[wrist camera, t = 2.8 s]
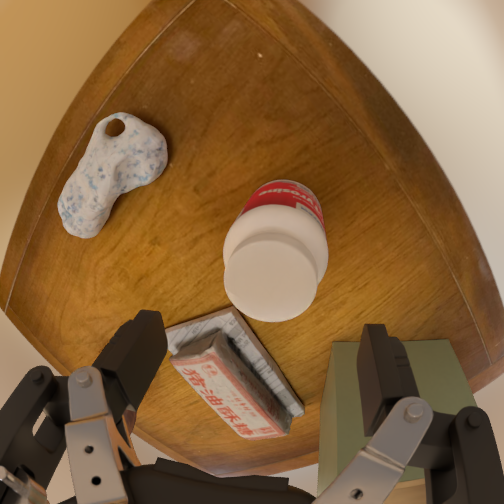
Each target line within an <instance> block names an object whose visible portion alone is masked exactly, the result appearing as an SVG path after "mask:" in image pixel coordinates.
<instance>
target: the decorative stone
mask: <svg viewBox="0 0 504 504" xmlns="http://www.w3.org/2000/svg"><path fill="white" fill-rule="evenodd" d="M114 118H118V119H120V120H122V121H123V122H124V123H125V130H124V132H123V133H122V134H120V135H119V136H118V137H110V136H108V135H107V134H105V129H106V126H107V124H108V122H109V121H111V120H112V119H114ZM167 160H168V153H167V144H166V140H165V138H164V136H163V135H162V134H161V133H160V132H159V131H158V130H157V129H156V128H155V127H153V126H151V125H149V124H146V123H144V122H143V121H142V120H141V119H139V118H137V117H135V116H133V115H130V114H127V113H115V114H112V115H110V116H109V117H107V118H105V119H103V120H101V121H100V122H99V123H98V124H97V126H96V127H95V130H94V132H93V135H92V138H91V140H90V142H89V145H88V147H87V150H86V153H85V155H84V156H83V158H82V159H81V160H80V162H79V164H78V167H77V169H76V170H75V172H74V173H73V174H72V175H71V177H70V178H69V179H68V181H67V182H66V184H65V186H64V188H63V191H62V193H61V195H60V198H59V201H58V211H59V214H60V216H61V218H62V221H63V226H64V227H65V229H66V230H67V232H69V233H70V234H72V235H75V236H79V237H81V238H91V237H94V236H96V235H97V234H98V233H99V232H100V230H101V229H102V227H103V225H104V224H105V222H106V220H107V219H108V217H109V215H110V211H111V208H112V206H113V203H114V202H115V200H116V199H117V197H118V196H119V195H120V194H122V193H127V192H129V191H130V190H132V189H135V188H137V187H139V186H144V185H147V184H150V183H151V182H153V181H154V180H155V179H156V178H158V177H159V176H160V175H161V174H162V172H163V170H164V169H165V167H166V165H167Z"/></svg>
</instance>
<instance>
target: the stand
mask: <svg viewBox="0 0 504 504" xmlns="http://www.w3.org/2000/svg"><path fill="white" fill-rule="evenodd" d="M400 342H401V343H402V344H403V345H404V346H405V349H406V352H407V355H408V359H409V362H410V366H411V368H412V371H413V374H414V378H415V381H416V384H417V388H418V391H419V395H420V398H422V399H424V400H425V401H426V402H428V403H429V404H430V406H431V407H432V410H433V411H436V412H440V413H446V414H453V415H457V413H458V412H459V411H460V410H461V409H462V408H464V407H467V406H475V407H477V404H476V402H475V399H474V396H473V394H472V391H471V389H470V386H469V384H468V382H467V379H466V377H465V375H464V372H463V370H462V368H461V365H460V363H459V361H458V359H457V357H456V354H455V352H454V350H453V348H452V346H451V344H450V342H449V340H448V339H439V340H421V341H400ZM359 345H360V342H333V343H332V349H331V354H330V360H329V366H328V371H327V376H326V381H325V386H324V391H323V396H322V401H321V406H320V441H319V468H318V485H317V497H318V496H319V495H320V494H321V493H322V492H323V491H324V490H325V489H326V488H327V487H328V486H329V485H330V484H331V483H332V482H333V480H334V479H335V478H336V477H337V476H338V475H339V474H340V473H341V472H342V470H343V469H344V468H345V467H346V466H347V465H348V463H349V462H350V461H351V460H352V459H353V458H354V456H355V455H356V454H357V453H358V452H359V450H360V449H361V448H364V447H365V446H366V444H367V443H368V442H369V441H370V439H371V438H372V437H373V436H372V437H364V426H363V416H362V407H361V398H360V390H359V382H358V375H357V366H356V363H357V353H358V349H359ZM422 478H425V476H424V468H418V467H412V466H406V468H405V472H404V474H403V475H402V477H401V478H400V480H399V481H398V482H404V481H411V480H417V479H422Z"/></svg>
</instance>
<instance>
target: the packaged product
mask: <svg viewBox="0 0 504 504" xmlns="http://www.w3.org/2000/svg"><path fill="white" fill-rule="evenodd" d="M165 332H166V336H167V340H168V350H169V351H170V352H171V353H172V354H173V356H171V357H170V358H169V361H170V362H171V363H172V365H173V366H174V367H175V368H176V370H177V371H178V372H179V373H180V374H181V375H182V376H183V377H184V379H185V380H186V381H187V382H188V383H189V384H190V385H191V386H192V388H193V389H194V390H195V391H196V392H197V393H198V394H199V395H200V396H201V397H202V398H203V399H204V400H205V401H206V402H207V403H208V405H209V406H210V407H211V408H212V409H213V410H215V412H216V413H217V414H218V415H219V416H220V417H221V418H222V419H223V420H224V421H225V422H226V423H227V424H228V425H229V426H230V427H231V428H232V429H233V430H234V431H235V432H236V433H237V434H238V435H239V436H241V437H243V438H245V439H249V440H254V441H255V440H260V439H267V438H274V437H279V436H285V435H287V434H289V430H290V425H291V423H292V417H301V416H302V415H304V414H305V407H304V406H303V404H302V403H301V402H300V400H299V399H298V398H297V396H296V395H295V393H294V392H293V390H292V389H291V387H290V385H289V384H288V382H287V380H286V379H285V377H284V376H283V374H282V372H281V371H280V369H279V367H278V366H277V364H276V363H275V361H274V360H273V359H272V358H271V356H270V355H269V354H268V353H267V351H266V350H265V349H264V347H263V346H262V345H261V343H260V342H259V340H258V339H257V338H256V336H255V335H254V333H253V332H252V331H251V329H250V328H249V326H248V325H247V324H246V322H245V321H244V319H243V318H242V316H241V315H240V314H239V312H238V311H237V309H236V308H235V307H234V306H231V307H229V308H226V309H223V310H220V311H217V312H215V313H212V314H209V315H206V316H203V317H200V318H197V319H194V320H191V321H188V322H185V323H182V324H179V325H176V326H173V327H170V328H167V329H165Z"/></svg>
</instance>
